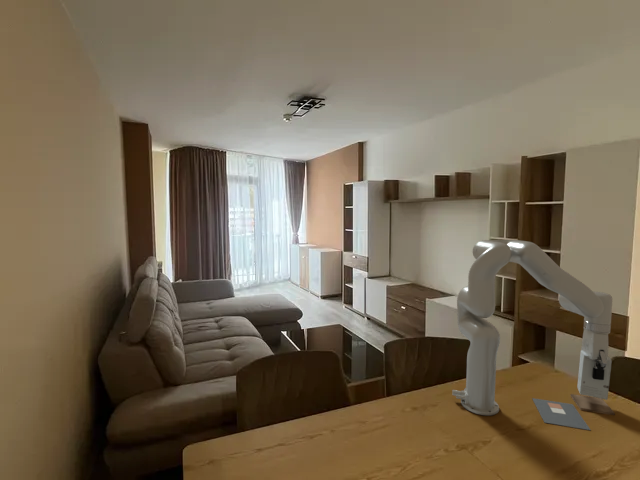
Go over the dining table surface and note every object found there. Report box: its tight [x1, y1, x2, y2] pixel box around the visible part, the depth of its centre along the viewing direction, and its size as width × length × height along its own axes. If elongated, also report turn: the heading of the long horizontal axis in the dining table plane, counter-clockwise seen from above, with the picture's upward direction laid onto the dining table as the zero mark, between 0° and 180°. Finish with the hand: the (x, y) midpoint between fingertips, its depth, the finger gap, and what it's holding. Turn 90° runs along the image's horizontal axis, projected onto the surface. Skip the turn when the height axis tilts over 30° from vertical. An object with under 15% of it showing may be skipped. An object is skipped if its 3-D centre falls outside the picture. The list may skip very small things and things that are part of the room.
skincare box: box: [577, 349, 613, 401], centre depth 127 cm, size 8×6×15 cm
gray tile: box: [532, 397, 592, 431], centre depth 122 cm, size 13×16×1 cm
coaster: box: [570, 393, 616, 416], centre depth 128 cm, size 10×10×1 cm
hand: (593, 374), depth 127 cm, fingers closed on skincare box, 6 cm apart
